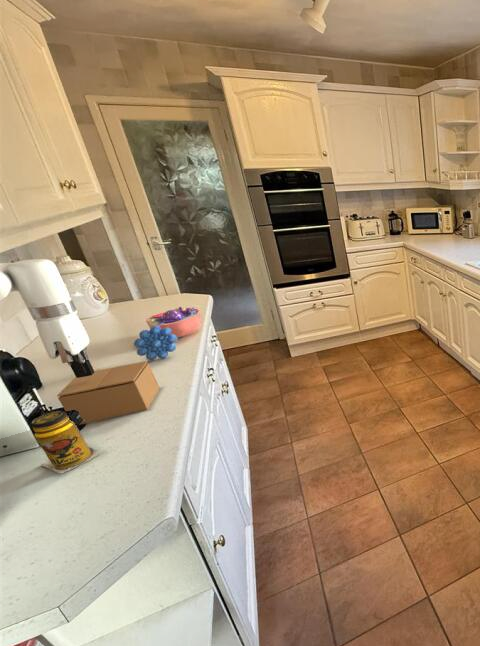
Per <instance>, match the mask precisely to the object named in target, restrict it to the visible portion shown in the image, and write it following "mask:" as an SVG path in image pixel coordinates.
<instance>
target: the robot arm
mask: <svg viewBox="0 0 480 646" xmlns="http://www.w3.org/2000/svg"><path fill="white" fill-rule="evenodd" d="M11 292H18V293H19V295H20V297H21V299H22V301H23V302H24V305H25V306H26V308H27V310H28V312H29V314H30V317H31V318H32V320H33V321H34V322H35V326H36V328H37V332H38V335H39V338H40V340H41V342H42V345H43V347H44V350H45V351H46V353H47V356H48V357H49V358H50V359H53V360H54V359H56V358H58V357H60V360H61V363H63V364H67V365H69V367H70V369H71V370H72V372H73V374H74V376H75V377H77V378H80V377H86V376H91V375H92V374H93V373H94V372H95V371H96V370H94V367H93V365H92V363H91V362H90V359H89V355H88V353H87V347H88V345H89V344H90V341H91V339H90V337H89V334H88V332H87V331H86V328H85V326H84V325H83V323H82V321H81V320H80V318H79V316H78V314H77V313H78V309H77V307H76V306H75V305H76V304H75V303H74V301H73V299H72V296H71V295H70V293H69V290H68V289H67V287H66V285H65V283H64V280H63V278H62V276H61V274H60V272H59V270H58V267H57V266H56V263H54V262H53V261H52V260H50V259H46V258H34V259H33V258H32V259H25V260H23V259H22V260H19V261H14V262H0V301H2V300H4V299H5V298H6V297H8V295H9V294H10V293H11Z"/></svg>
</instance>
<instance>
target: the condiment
mask: <svg viewBox="0 0 480 646" xmlns="http://www.w3.org/2000/svg"><path fill="white" fill-rule="evenodd" d="M30 427H31V428H32V430H33V431H34V432H35V433H34V438H35V440H36V441H37V443H38V444H39V445H40V448H41V449H42V451H43V452H44V453H45V455H46V457H47V459H48V461H47V462H45V463H42V464H41V466H42V467H44V468H46V469H49V470H51V471H53V472H55V473H57V474H59V475H63V474H65V473H66V472H68V471H71V470H72V469H75V468H77V467H79V466H81V465H83V464H84V463H87V462H88V461H90V460H92V459H94V458H95V457H97V456H99V455H101V454H103V453H104V452H103V451H100V450H97V449H94V448H92V447H89V445H88V443H87V441H86V440H85V438H84V437H83V435H82V433H81V431H80V429H79V428H78V425H75V423H74V422H73V421H71V420H70V418H69V416H68V415H67V413H66V411H62V410H57V411H51V412H48V413H44V414H42V415H40V416H38V417H36V418H34V419H33V420H32V421H31V422H30Z"/></svg>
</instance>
